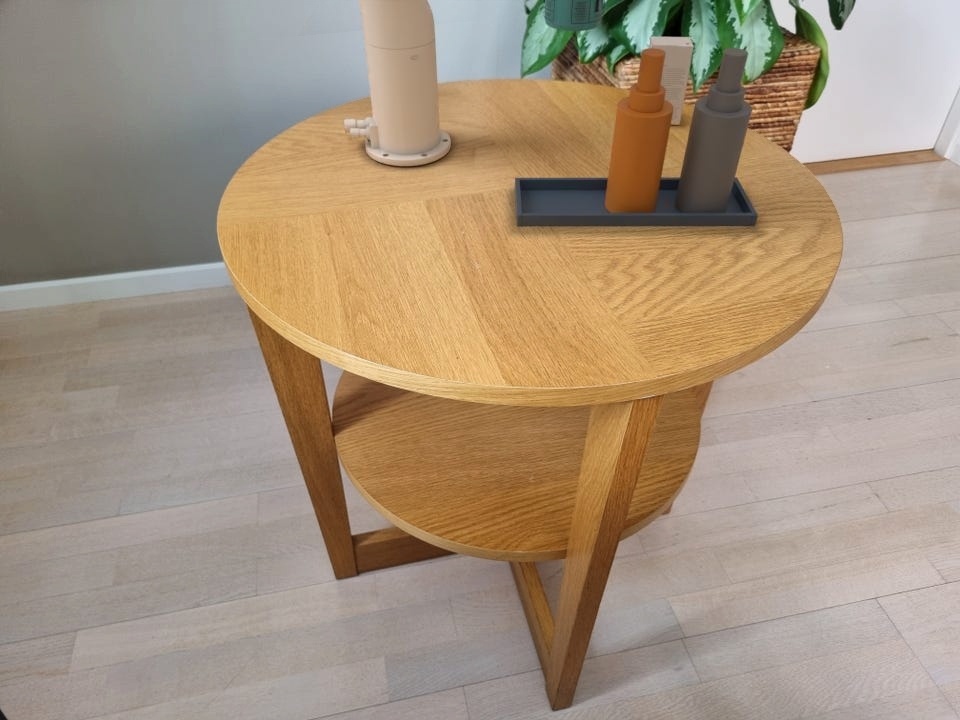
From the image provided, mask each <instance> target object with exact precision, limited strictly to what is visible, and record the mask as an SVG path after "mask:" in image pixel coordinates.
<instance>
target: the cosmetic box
mask: <svg viewBox="0 0 960 720" xmlns="http://www.w3.org/2000/svg"><path fill="white" fill-rule="evenodd" d="M649 39H650V40H649V45H648V46H649V47H648V48H656V49H661V50H663V51H665V52H666V55H665V61H664V67H663V73H662V79H661V85H662V86H663V87H664V88H665V89H666V93H665V99H664V100H666V101H668V102H670V103H671V104H672V105H673V108H674V110H673V115H672V121H671V126H680V124H681V121H682V114H683V108H684V103H685V98H686V93H687V87H688V80H689V75H690V71H691V70H690V69H691V64H692V57H693V53H694V48H695V46H694V44H693V40H692V38H691V37H690V36H650V38H649Z"/></svg>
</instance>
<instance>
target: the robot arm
mask: <svg viewBox="0 0 960 720" xmlns="http://www.w3.org/2000/svg"><path fill="white" fill-rule="evenodd" d="M358 6H359V10H360V17H361V25H362V34H363V41H364V50H365V58H366V67H367V68H366V69H367V76H368V77H367V78H368V86H369V95H370V103H371V112H372V114H371V116H366V117H365V119H357V118H344V120H343V128H344V132H345V133H346V134H349V136H350V139H360V138H361V139H365V142H364V143H365V146H364V147H365V151H366V154H367V155H368V156H369V157H370V158H371V159H372V160H374V161H375V162H378V163H381V164H384V165H388V166H394V167H414V166H422V165H426V164H427V165H428V164H430V163H434V162H436V161H438V160H440V159H442V158H443V157H445V156H446V155H447V154H448V153H449V151H450V150H451V147H452V141H451V140H452V139H451V136H450V135H449V133H448V132H447V131H445V130H444V129H442V128H441V127H440V107H439V106H440V105H439V88H438V87H439V86H438V66H437V65H438V64H437V45H436V44H437V43H436V25H435V19H434V14H433V10H432V8H431V5H430V3H429V1H428V0H358Z"/></svg>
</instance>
